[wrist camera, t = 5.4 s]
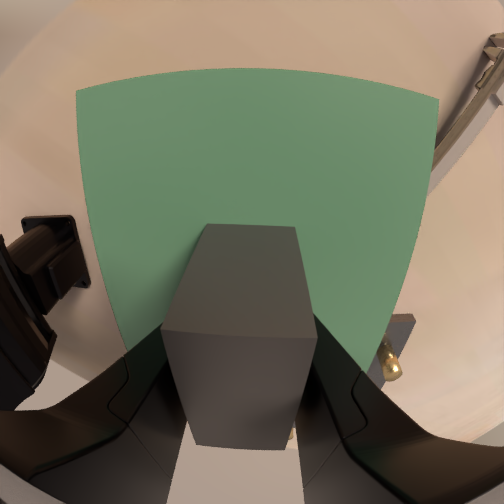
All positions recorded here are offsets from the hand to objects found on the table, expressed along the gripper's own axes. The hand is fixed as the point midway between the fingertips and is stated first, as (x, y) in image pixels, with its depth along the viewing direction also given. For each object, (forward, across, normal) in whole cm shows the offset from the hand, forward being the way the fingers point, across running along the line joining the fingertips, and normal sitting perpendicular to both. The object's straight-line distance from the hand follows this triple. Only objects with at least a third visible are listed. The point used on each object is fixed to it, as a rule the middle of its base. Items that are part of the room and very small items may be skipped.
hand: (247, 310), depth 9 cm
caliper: (+11, -13, -7) cm, 18 cm away
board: (+2, 0, 0) cm, 2 cm away
